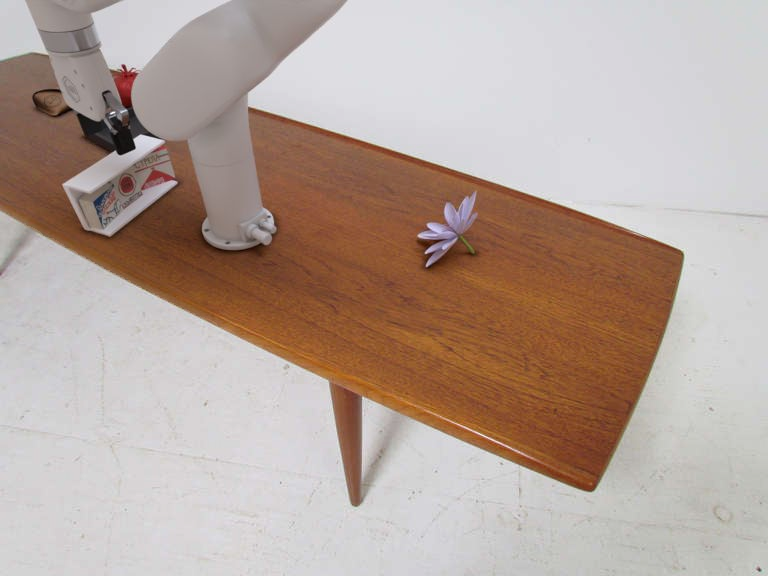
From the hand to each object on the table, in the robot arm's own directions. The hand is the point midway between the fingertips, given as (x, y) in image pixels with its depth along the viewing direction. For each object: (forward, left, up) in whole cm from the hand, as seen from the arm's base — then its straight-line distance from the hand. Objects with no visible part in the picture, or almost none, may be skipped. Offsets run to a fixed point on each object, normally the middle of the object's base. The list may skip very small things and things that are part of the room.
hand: (110, 142), depth 86 cm
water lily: (-53, -26, -13) cm, 61 cm away
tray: (+24, -20, -13) cm, 33 cm away
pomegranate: (+37, -25, -13) cm, 46 cm away
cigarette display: (0, 0, -13) cm, 13 cm away
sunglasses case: (+49, -17, -13) cm, 53 cm away
